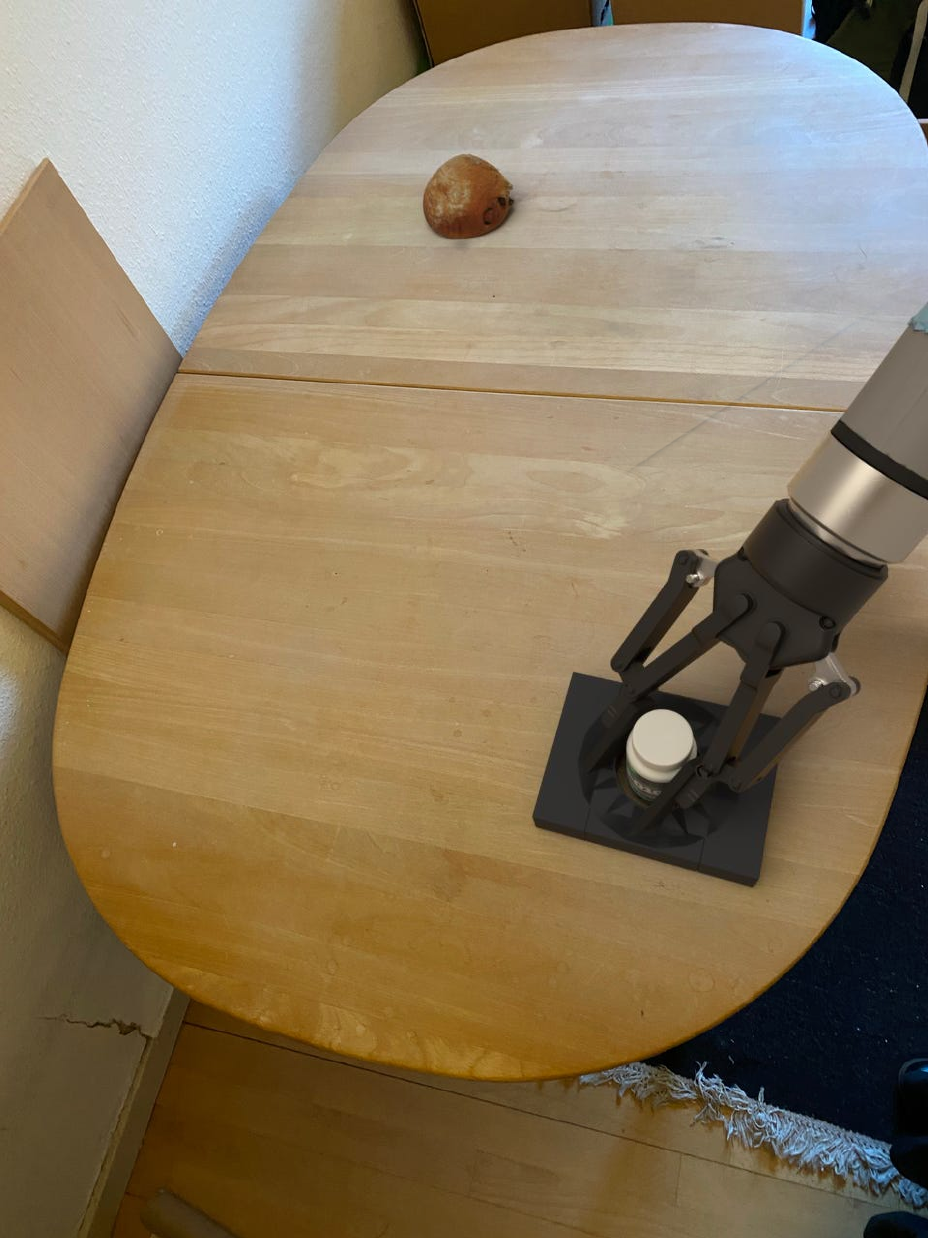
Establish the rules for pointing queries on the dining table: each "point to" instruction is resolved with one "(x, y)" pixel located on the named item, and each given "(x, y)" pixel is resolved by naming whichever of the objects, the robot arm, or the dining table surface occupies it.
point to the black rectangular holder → (603, 814)
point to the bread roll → (466, 198)
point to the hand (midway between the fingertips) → (620, 793)
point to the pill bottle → (657, 751)
